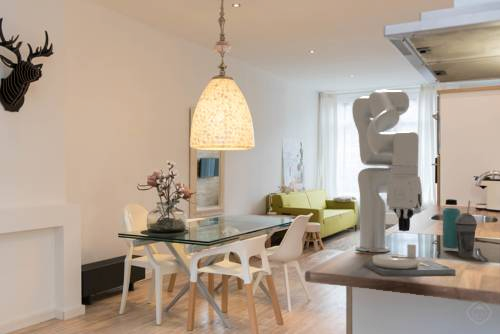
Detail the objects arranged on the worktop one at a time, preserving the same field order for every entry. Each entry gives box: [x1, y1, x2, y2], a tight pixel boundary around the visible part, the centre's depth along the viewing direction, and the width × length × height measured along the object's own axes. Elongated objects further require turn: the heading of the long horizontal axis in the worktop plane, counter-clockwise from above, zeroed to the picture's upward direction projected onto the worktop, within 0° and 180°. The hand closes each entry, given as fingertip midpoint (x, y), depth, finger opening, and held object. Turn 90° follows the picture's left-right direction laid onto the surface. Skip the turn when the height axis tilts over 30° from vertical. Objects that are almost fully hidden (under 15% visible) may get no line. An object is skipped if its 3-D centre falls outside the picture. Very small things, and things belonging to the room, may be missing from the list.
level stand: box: [363, 259, 456, 277], centre depth 139 cm, size 15×22×2 cm
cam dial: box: [372, 243, 419, 269], centre depth 139 cm, size 13×13×6 cm
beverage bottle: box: [441, 198, 461, 250], centre depth 177 cm, size 6×7×20 cm
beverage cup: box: [455, 200, 478, 258], centre depth 166 cm, size 7×7×20 cm
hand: (404, 230), depth 143 cm, fingers closed
